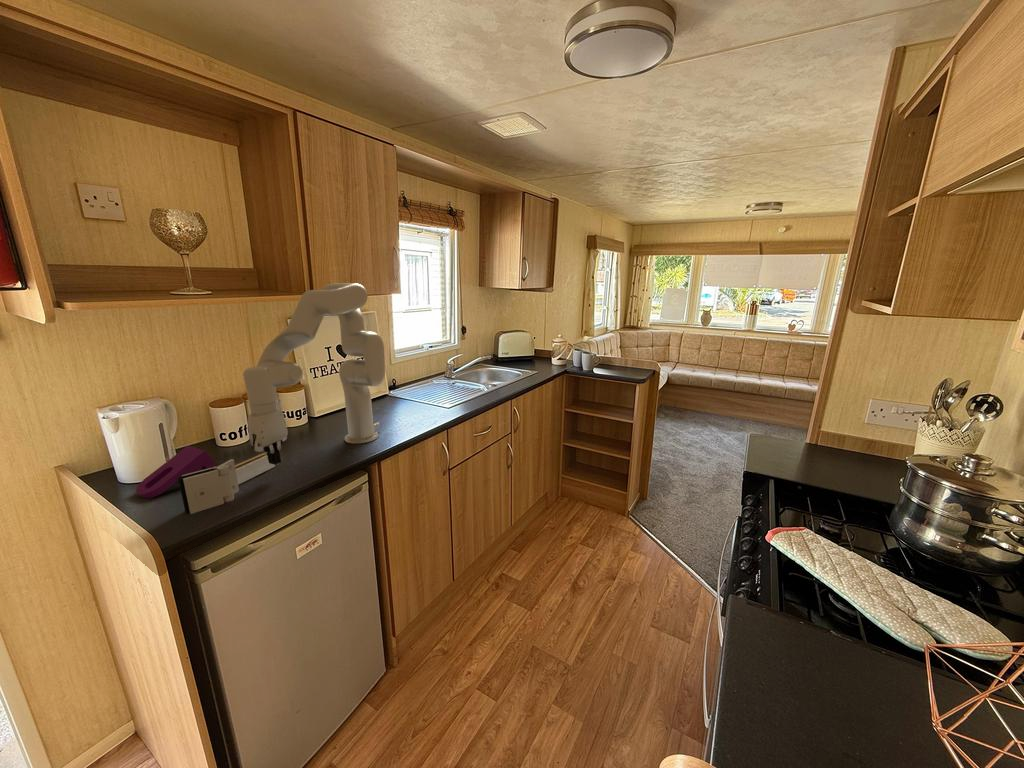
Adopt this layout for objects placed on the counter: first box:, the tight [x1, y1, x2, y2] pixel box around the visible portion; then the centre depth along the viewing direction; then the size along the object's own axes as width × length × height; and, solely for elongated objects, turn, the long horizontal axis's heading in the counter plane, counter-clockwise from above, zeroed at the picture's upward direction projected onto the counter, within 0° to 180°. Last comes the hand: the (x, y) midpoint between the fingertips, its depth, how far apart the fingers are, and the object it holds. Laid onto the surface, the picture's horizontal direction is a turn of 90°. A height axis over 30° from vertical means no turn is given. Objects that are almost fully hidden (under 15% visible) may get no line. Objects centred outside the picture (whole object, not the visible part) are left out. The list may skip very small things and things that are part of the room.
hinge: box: [178, 459, 240, 515], centre depth 113 cm, size 14×5×10 cm, turn 149°
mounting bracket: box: [135, 445, 217, 499], centre depth 125 cm, size 10×8×18 cm
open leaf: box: [235, 455, 276, 486], centre depth 129 cm, size 15×1×4 cm, turn 163°
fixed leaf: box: [235, 452, 279, 469], centre depth 131 cm, size 18×3×5 cm, turn 162°
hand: (275, 462), depth 128 cm, fingers closed
